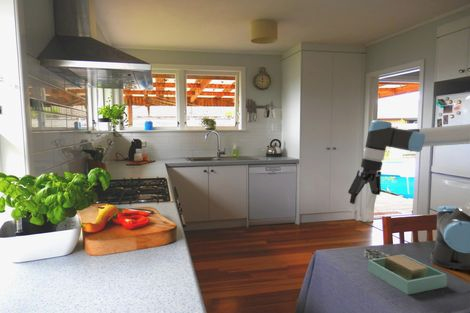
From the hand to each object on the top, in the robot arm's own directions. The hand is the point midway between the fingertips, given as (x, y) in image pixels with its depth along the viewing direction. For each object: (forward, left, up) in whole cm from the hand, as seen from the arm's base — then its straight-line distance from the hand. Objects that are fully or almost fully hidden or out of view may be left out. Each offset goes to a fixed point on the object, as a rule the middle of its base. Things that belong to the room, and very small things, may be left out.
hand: (360, 209), depth 129 cm
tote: (-4, +19, -22) cm, 29 cm away
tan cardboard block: (-4, +19, -21) cm, 29 cm away
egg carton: (-7, +1, -22) cm, 23 cm away
